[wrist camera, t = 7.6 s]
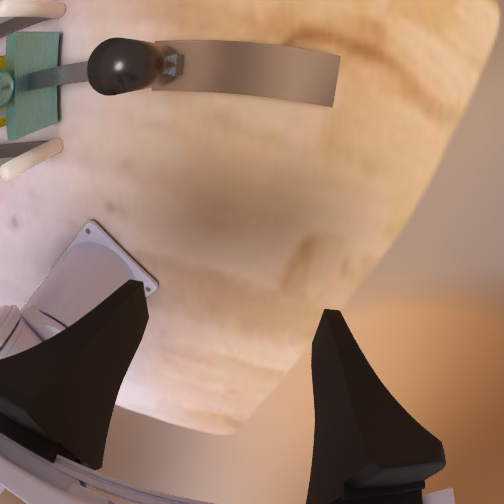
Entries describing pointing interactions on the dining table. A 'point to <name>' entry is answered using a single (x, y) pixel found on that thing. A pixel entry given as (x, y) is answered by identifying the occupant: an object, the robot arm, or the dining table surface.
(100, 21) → the dining table surface
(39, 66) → the slider rail assembly
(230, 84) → the guide
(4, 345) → the robot arm
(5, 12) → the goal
